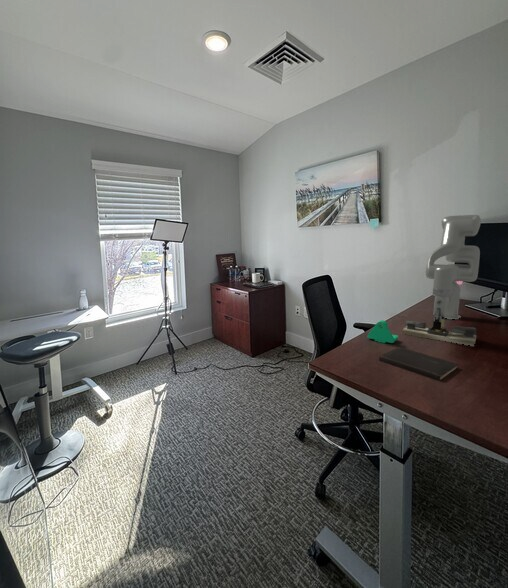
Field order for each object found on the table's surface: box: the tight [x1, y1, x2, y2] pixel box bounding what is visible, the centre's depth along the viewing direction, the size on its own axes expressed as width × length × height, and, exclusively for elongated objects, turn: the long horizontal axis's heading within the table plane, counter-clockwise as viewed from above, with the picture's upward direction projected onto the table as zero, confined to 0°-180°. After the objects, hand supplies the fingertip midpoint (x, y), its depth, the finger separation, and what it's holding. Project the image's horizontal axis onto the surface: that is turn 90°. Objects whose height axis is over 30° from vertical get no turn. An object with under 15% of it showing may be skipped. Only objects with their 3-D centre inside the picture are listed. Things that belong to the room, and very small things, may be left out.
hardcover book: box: [378, 346, 459, 382], centre depth 119 cm, size 16×23×2 cm
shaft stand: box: [401, 319, 477, 347], centre depth 148 cm, size 11×30×6 cm, turn 50°
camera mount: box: [367, 319, 399, 344], centre depth 145 cm, size 12×8×10 cm, turn 48°
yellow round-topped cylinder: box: [432, 318, 446, 332], centre depth 147 cm, size 5×4×7 cm
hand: (438, 326), depth 147 cm, fingers open, 9 cm apart
